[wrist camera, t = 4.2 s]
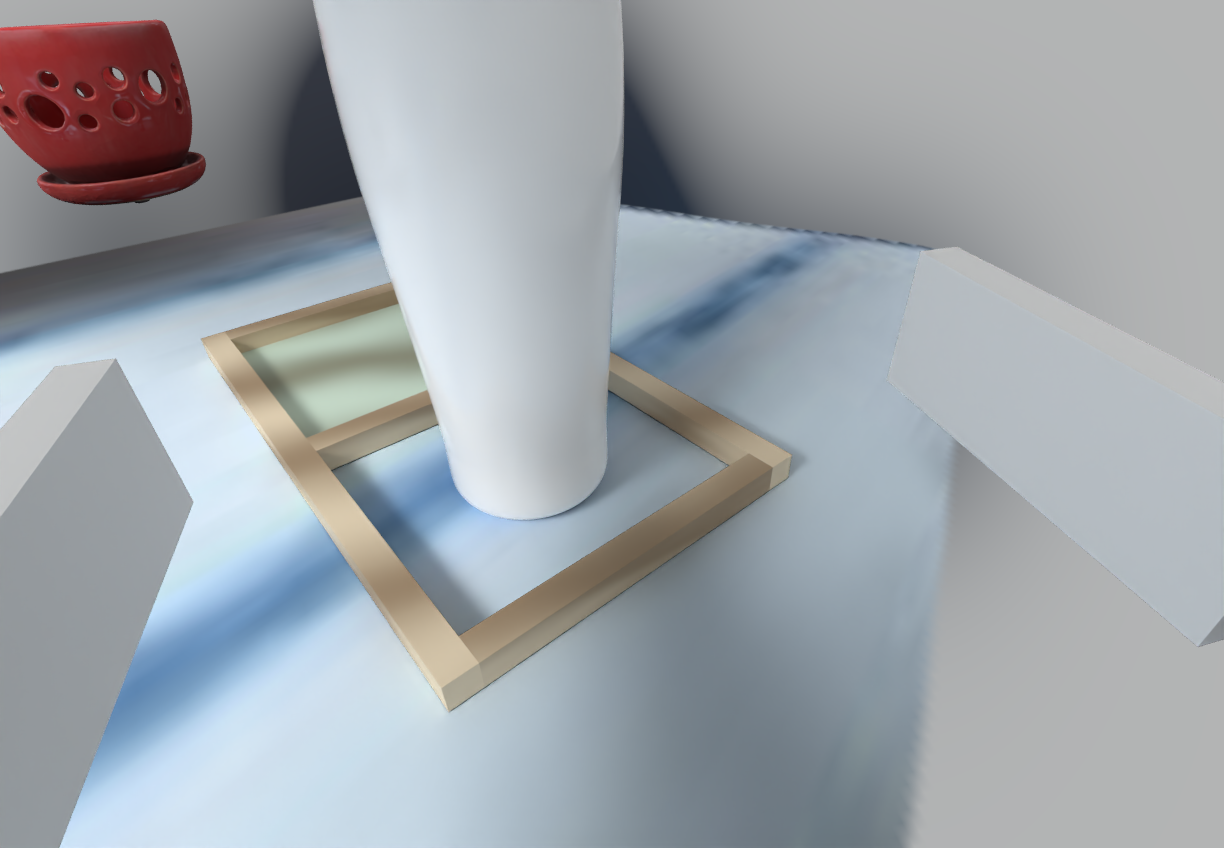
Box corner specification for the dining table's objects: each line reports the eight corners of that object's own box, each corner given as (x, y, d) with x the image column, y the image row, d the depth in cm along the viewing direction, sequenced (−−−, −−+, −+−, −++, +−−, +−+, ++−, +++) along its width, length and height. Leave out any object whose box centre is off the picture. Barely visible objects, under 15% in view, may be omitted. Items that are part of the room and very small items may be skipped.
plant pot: (252, 182, 55) (195, 15, 48) (78, 226, 46) (-22, 31, 39) (178, 162, 61) (119, 12, 54) (14, 198, 53) (-82, 25, 46)
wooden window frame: (209, 357, 30) (200, 338, 29) (457, 280, 37) (454, 263, 36) (448, 711, 16) (441, 687, 15) (787, 477, 22) (792, 454, 22)
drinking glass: (435, 431, 25) (325, -53, 16) (608, 409, 26) (593, -60, 17) (430, 562, 19) (258, -61, 11) (649, 527, 20) (656, -71, 12)
